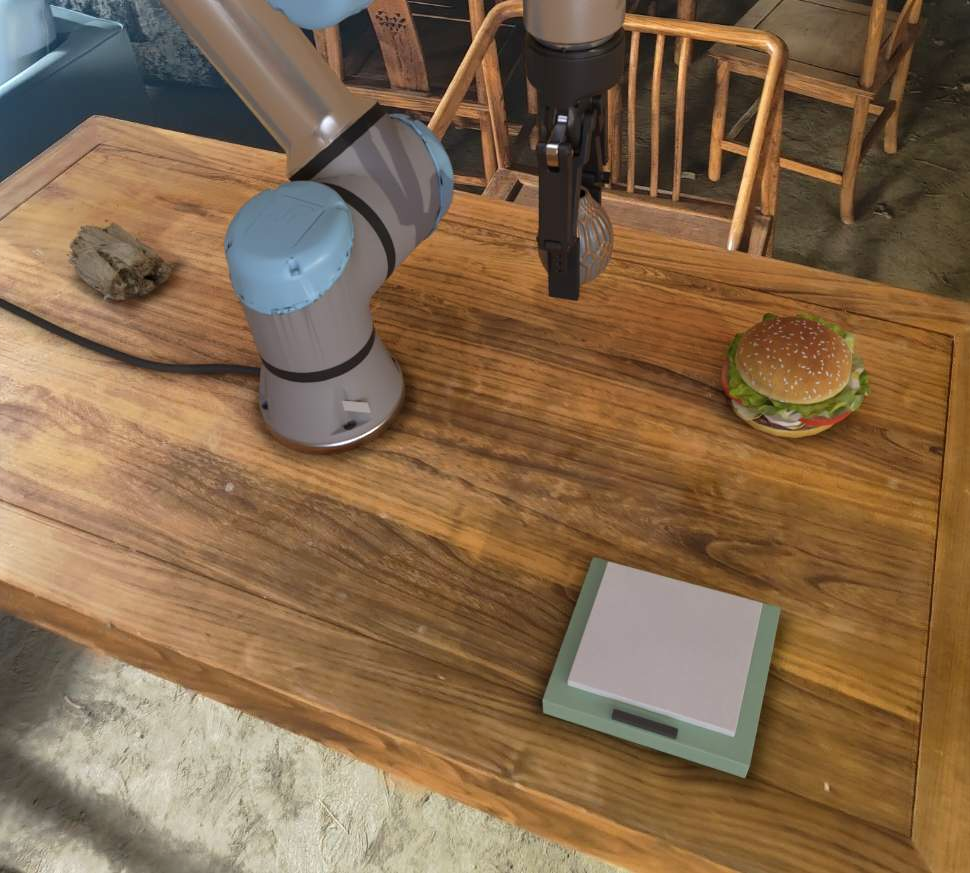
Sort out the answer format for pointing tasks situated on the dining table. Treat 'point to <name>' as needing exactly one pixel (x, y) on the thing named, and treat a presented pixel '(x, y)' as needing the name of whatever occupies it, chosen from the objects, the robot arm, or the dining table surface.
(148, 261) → the grey-brown fibrous clump
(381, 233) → the robot arm
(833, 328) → the food
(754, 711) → the scale
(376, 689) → the dining table surface
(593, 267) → the vase
